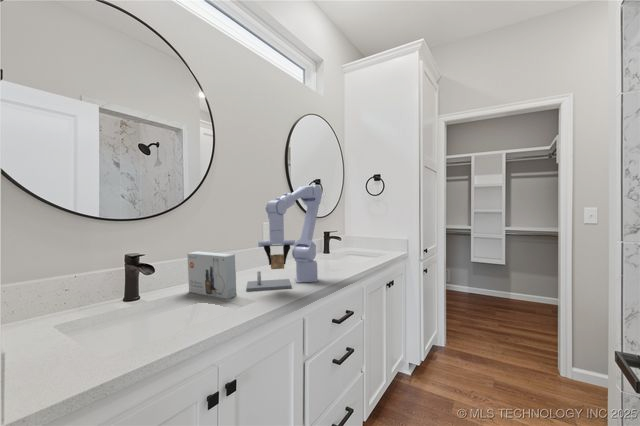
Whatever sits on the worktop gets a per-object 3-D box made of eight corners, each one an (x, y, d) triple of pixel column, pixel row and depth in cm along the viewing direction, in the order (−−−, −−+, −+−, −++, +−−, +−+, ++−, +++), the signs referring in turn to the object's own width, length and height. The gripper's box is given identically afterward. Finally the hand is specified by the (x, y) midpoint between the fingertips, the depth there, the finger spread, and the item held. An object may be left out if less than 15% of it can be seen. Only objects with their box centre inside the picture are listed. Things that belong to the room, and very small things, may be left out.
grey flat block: (289, 281, 131) (288, 266, 131) (291, 288, 119) (291, 271, 119) (247, 284, 127) (247, 268, 127) (246, 291, 115) (245, 274, 115)
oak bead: (283, 266, 119) (282, 254, 119) (284, 268, 114) (284, 255, 114) (270, 267, 118) (270, 254, 118) (271, 269, 113) (271, 256, 113)
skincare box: (187, 292, 115) (186, 252, 115) (198, 289, 120) (198, 251, 120) (226, 299, 106) (225, 255, 105) (237, 295, 110) (236, 253, 110)
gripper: (258, 231, 111) (258, 267, 111) (295, 230, 114) (296, 264, 114) (258, 230, 118) (258, 263, 118) (293, 229, 121) (294, 261, 121)
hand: (277, 264), depth 116 cm, fingers closed on oak bead, 5 cm apart
